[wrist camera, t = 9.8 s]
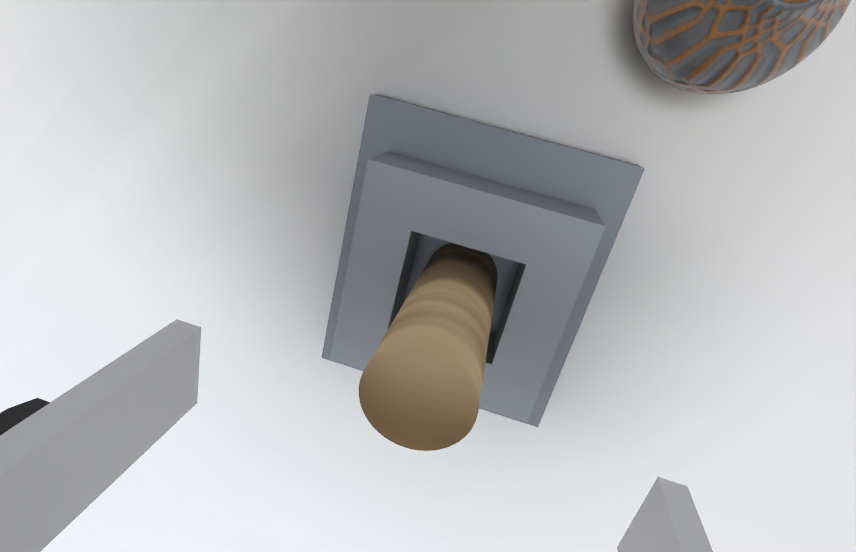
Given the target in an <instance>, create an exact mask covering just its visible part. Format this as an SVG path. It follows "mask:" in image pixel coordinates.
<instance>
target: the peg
mask: <svg viewBox="0 0 856 552" xmlns="http://www.w3.org/2000/svg"><path fill="white" fill-rule="evenodd" d="M497 279H498V275H497V268H496V265H495V263H494V261H493V259H492V258H491V256H490V255H489V254H488V253H485V252H482V251H478V250H475V249H472V248H468V247H465V246H461V245H458V244H455V243H448V244H446V245H443V246H442V247H440V248H439V249H437V250H436V251H435V252H434V253H433V255H432V256H431V258H430V259H429V261H428V263H427V264H426V266H425V268H424V269H423V271H422V273H421V275H420V276H419V278H418V280H417V281H416V283H415V285H414V286H413V288H412V290H411V292H410V293H409V295H408V297H407V298H406V300H405V302H404V303H403V305H402V307H401V309H400V310H399V312H398V314H397V315H396V317H395V319H394V321H393V322H392V324H391V326H390V327H389V329H388V331H387V332H386V334H385V336H384V338H383V339H382V341H381V343H380V344H379V346H378V348H377V349H376V351H375V353H374V355H373V356H372V358H371V360H370V361H369V363H368V365H367V366H366V368H365V370H364V372H363V374H362V376H361V380H360V384H359V399H360V403H361V407H362V409H363V412H364V414H365V416H366V417H367V419H368V421H369V422H370V423H371V425H372V426H373V427H374V428H375V429H376V430H377V431H378V432H379V433H380V434H381V435H383V436H384V437H385V438H387V439H388V440H390V441H392V442H394V443H396V444H398V445H400V446H403V447H406V448H410V449H415V450H424V451H429V450H438V449H443V448H446V447H449V446H451V445H453V444H455V443H457V442H459V441H460V440H461V439H463V438H464V437H465V436H466V435H467V434H468V433H469V432H470V430H471V429H472V427H473V425H474V423H475V421H476V418H477V414H478V408H479V402H480V395H481V388H482V381H483V375H484V368H485V361H486V354H487V347H488V341H489V334H490V327H491V320H492V314H493V307H494V300H495V293H496V286H497Z"/></svg>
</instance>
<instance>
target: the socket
mask: <svg viewBox="0 0 856 552" xmlns="http://www.w3.org/2000/svg"><path fill="white" fill-rule="evenodd" d="M643 171H644V168H643V167H641V166H639V165H636V164H632V163H628V162H624V161H621V160H617V159H613V158H610V157H606V156H602V155H598V154H595V153H591V152H587V151H584V150H580V149H576V148H573V147H569V146H565V145H561V144H558V143H554V142H550V141H547V140H543V139H539V138H536V137H532V136H528V135H524V134H521V133H517V132H513V131H510V130H506V129H502V128H498V127H495V126H491V125H487V124H484V123H480V122H476V121H473V120H469V119H465V118H461V117H458V116H454V115H450V114H447V113H443V112H439V111H435V110H432V109H428V108H424V107H421V106H417V105H413V104H410V103H406V102H402V101H398V100H395V99H391V98H387V97H384V96H380V95H370V98H369V103H368V109H367V114H366V119H365V125H364V130H363V136H362V141H361V147H360V152H359V157H358V163H357V168H356V174H355V179H354V185H353V190H352V195H351V201H350V206H349V212H348V217H347V223H346V228H345V233H344V239H343V244H342V250H341V255H340V261H339V266H338V272H337V277H336V282H335V288H334V293H333V299H332V304H331V310H330V315H329V320H328V326H327V331H326V337H325V342H324V348H323V353H322V358H324V359H328V360H331V361H334V362H337V363H340V364H343V365H346V366H349V367H352V368H356V369H359V370H362V371H364V370H365V368H366V366H367V365H368V363H369V361H370V360H371V358H372V356H373V355H374V353H375V351H376V349H377V348H378V346H379V344H380V343H381V341H382V339H383V338H384V336H385V334H386V332H387V331H388V329H389V327H390V326H391V324H392V322H393V321H394V319H395V317H396V315H397V314H398V312H399V310H400V309H401V307H402V305H403V303H404V302H405V300H406V298H407V297H408V295H409V293H410V292H411V290H412V288H413V286H414V285H415V283H416V281H417V280H418V278H419V276H420V275H421V273H422V271H423V269H424V268H425V266H426V264H427V263H428V261H429V259H430V258H431V256H432V255H433V253H434V252H435V251H436V250H437V249H439V248H440V247H442V246H443V245H446V244H448V243H455V244H458V245H461V246H465V247H468V248H472V249H475V250H478V251H482V252H485V253H488V254H489V255H490V256H491V258H492V259H493V261H494V263H495V265H496V268H497V275H498V279H497V286H496V293H495V300H494V307H493V314H492V320H491V327H490V334H489V341H488V347H487V354H486V361H485V368H484V375H483V381H482V388H481V395H480V402H479V408H480V409H483V410H486V411H489V412H492V413H495V414H499V415H502V416H505V417H508V418H511V419H514V420H517V421H520V422H523V423H527V424H530V425H533V426H536V427H538V425H539V423H540V420H541V418H542V416H543V413H544V411H545V408H546V406H547V403H548V401H549V399H550V396H551V394H552V391H553V389H554V386H555V384H556V382H557V379H558V377H559V374H560V372H561V370H562V367H563V365H564V362H565V360H566V357H567V355H568V353H569V350H570V348H571V345H572V343H573V340H574V338H575V336H576V333H577V331H578V328H579V326H580V324H581V321H582V319H583V316H584V314H585V311H586V309H587V307H588V304H589V302H590V299H591V297H592V294H593V292H594V290H595V287H596V285H597V282H598V280H599V277H600V275H601V273H602V270H603V268H604V265H605V263H606V261H607V258H608V256H609V253H610V251H611V248H612V246H613V244H614V241H615V239H616V236H617V234H618V231H619V229H620V227H621V224H622V222H623V219H624V217H625V215H626V212H627V210H628V207H629V205H630V202H631V200H632V198H633V195H634V193H635V190H636V188H637V185H638V183H639V181H640V178H641V176H642V173H643Z"/></svg>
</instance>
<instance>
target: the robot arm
mask: <svg viewBox="0 0 856 552" xmlns="http://www.w3.org/2000/svg"><path fill="white" fill-rule="evenodd" d="M200 339H201V327H198V326H195V325H192V324H189V323H186V322H183V321H180V320H175V321H174V322H172V323H171V324H169V325H168V326H166V327H165V328H163V329H162V330H160V331H158V332H157V333H155V334H154V335H152V336H151V337H149V338H148V339H146V340H145V341H143V342H142V343H140V344H139V345H137V346H136V347H134V348H133V349H131V350H130V351H128V352H127V353H125V354H123V355H122V356H120V357H119V358H117V359H116V360H114V361H113V362H111V363H110V364H108V365H107V366H105V367H104V368H102V369H101V370H99V371H98V372H96V373H95V374H93V375H92V376H90V377H89V378H87V379H85V380H84V381H82V382H81V383H79V384H78V385H76V386H75V387H73V388H72V389H70V390H69V391H67V392H66V393H64V394H63V395H61V396H60V397H58V398H57V399H55V400H54V401H52V402H47V401H44V400H41V399H39V398H36V399H33V400H31V401H28V402H25V403H22V404H19V405H17V406H14V407H11V408H8V409H6V410H5V411H3V412H2V413H0V552H40V551H41V550H42V549H43V548H44V547H46V546H47V545H48V544H49V543H50V542H51V541H52V540H53V539H54V538H55V537H56V536H57V535H58V534H59V533H60V532H61V531H62V530H63V529H65V528H66V527H67V526H68V525H69V524H70V523H71V522H72V521H73V520H74V519H75V518H76V517H77V516H78V515H79V514H80V513H81V512H82V511H84V510H85V509H86V508H87V507H88V506H89V505H90V504H91V503H92V502H93V501H94V500H95V499H96V498H97V497H98V496H99V495H100V494H101V493H102V492H104V491H105V490H106V489H107V488H108V487H109V486H110V485H111V484H112V483H113V482H114V481H115V480H116V479H117V478H118V477H119V476H120V475H121V474H123V473H124V472H125V471H126V470H127V469H128V468H129V467H130V466H131V465H132V464H133V463H134V462H135V461H136V460H137V459H138V458H139V457H140V456H142V455H143V454H144V453H145V452H146V451H147V450H148V449H149V448H150V447H151V446H152V445H153V444H154V443H155V442H156V441H157V440H158V439H159V438H161V437H162V436H163V435H164V434H165V433H166V432H167V431H168V430H169V429H170V428H171V427H172V426H173V425H174V424H175V423H176V422H177V421H178V420H180V419H181V418H182V417H183V416H184V415H185V414H186V413H187V412H188V411H189V410H190V409H191V408H192V407H193V406H194V405H195V404H196V403H197V394H198V376H199V357H200ZM617 549H618V552H713V551H712V548H711V546H710V543H709V541H708V538H707V536H706V533H705V531H704V528H703V525H702V523H701V520H700V518H699V515H698V513H697V510H696V508H695V505H694V502H693V500H692V497H691V495H690V492H689V490H688V487H687V486H684V485H681V484H678V483H675V482H672V481H669V480H666V479H663V478H660V477H658V478H657V480H656V481H655V483H654V485H653V486H652V488H651V490H650V492H649V493H648V495H647V497H646V498H645V500H644V502H643V504H642V505H641V507H640V509H639V511H638V512H637V514H636V516H635V517H634V519H633V521H632V523H631V524H630V526H629V528H628V529H627V531H626V533H625V535H624V536H623V538H622V540H621V541H620V543H619V545H618V547H617Z"/></svg>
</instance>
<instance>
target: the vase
mask: <svg viewBox="0 0 856 552" xmlns="http://www.w3.org/2000/svg"><path fill="white" fill-rule="evenodd" d="M850 1H851V0H634V7H633V28H634V35H635V39H636V43H637V46H638V48H639V51H640V53H641V55H642V57H643V59H644V60H645V62H646V63H647V65H648V66H649V67H650V69H651V70H652V71H653V72H654V73H655V74H656V75H657V76H659V77H660V78H661V79H663V80H664V81H666V82H667V83H669V84H671V85H673V86H675V87H677V88H680V89H683V90H687V91H690V92H695V93H703V94H725V93H733V92H738V91H743V90H747V89H750V88H753V87H756V86H759V85H761V84H764V83H766V82H769V81H771V80H773V79H775V78H777V77H778V76H780V75H782V74H784V73H785V72H787V71H788V70H790V69H791V68H793V67H795V66H796V65H797V64H799V63H800V62H801V61H803V60H804V59H805V58H806V57H807V56H809V55H810V54H811V53H812V52H813V51H814V50H815V49H816V48H817V47H818V46H819V45H820V44H821V43H822V42H823V41H824V40H825V39H826V38H827V37H828V36H829V34H830V33H831V32H832V31H833V29H834V28H835V27H836V25H837V24H838V22H839V21H840V19H841V18H842V16H843V14H844V13H845V11H846V9H847V7H848V5H849V3H850Z"/></svg>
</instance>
